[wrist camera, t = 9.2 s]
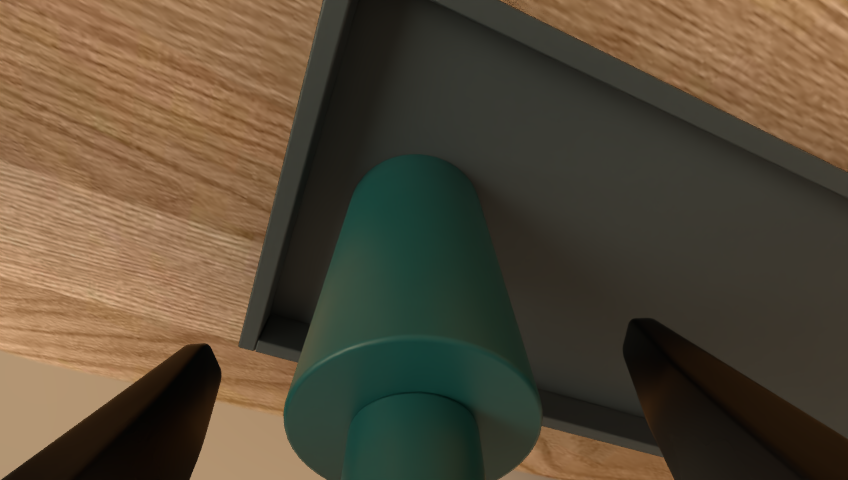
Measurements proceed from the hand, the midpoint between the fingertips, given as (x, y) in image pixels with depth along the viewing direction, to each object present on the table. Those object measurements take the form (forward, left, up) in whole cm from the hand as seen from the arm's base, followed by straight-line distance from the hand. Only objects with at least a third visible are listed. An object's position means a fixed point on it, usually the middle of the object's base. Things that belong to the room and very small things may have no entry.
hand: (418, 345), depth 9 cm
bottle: (0, 0, -6) cm, 6 cm away
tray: (+16, -8, -6) cm, 19 cm away
